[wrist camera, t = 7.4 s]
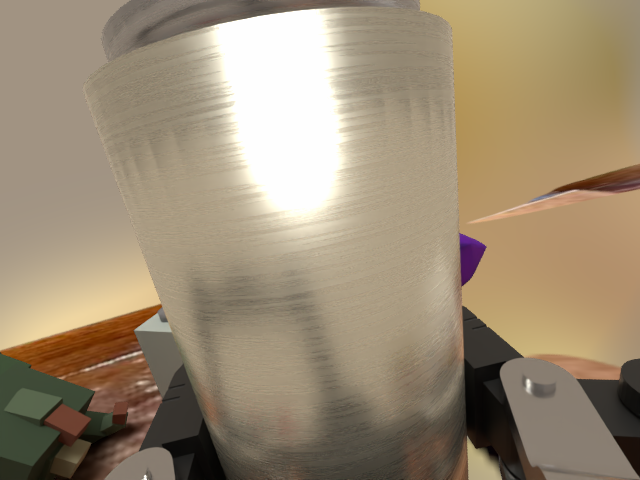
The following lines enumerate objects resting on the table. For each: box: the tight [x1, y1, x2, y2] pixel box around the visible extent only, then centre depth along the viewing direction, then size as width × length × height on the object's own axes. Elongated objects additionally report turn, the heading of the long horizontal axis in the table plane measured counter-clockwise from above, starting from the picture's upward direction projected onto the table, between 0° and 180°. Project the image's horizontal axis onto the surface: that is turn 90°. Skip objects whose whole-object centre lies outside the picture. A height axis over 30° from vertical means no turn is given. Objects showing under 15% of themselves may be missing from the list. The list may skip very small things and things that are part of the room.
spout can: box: [83, 0, 468, 480], centre depth 7 cm, size 6×6×20 cm
